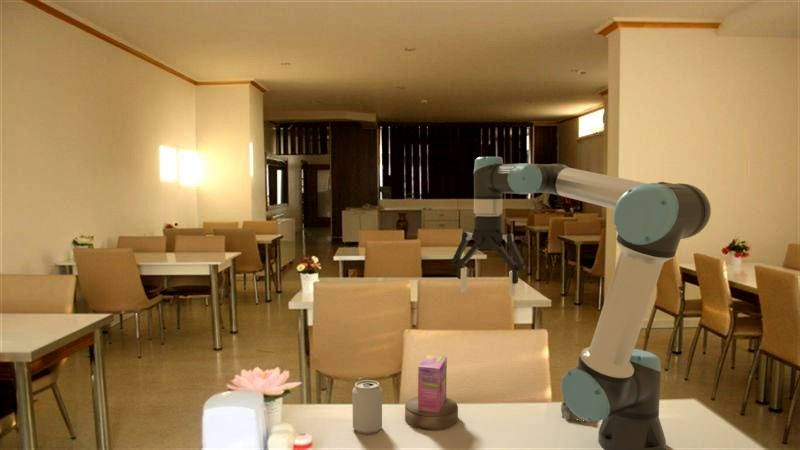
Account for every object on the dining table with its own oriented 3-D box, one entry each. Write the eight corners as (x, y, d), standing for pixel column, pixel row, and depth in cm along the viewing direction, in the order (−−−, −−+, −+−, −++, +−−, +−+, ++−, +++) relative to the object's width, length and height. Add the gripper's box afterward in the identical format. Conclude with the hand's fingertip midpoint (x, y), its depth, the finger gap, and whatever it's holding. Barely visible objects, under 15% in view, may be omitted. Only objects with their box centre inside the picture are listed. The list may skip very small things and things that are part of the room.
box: (439, 413, 154) (439, 368, 153) (417, 411, 156) (417, 366, 155) (447, 398, 164) (447, 356, 163) (426, 396, 166) (426, 354, 165)
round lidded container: (465, 414, 163) (465, 400, 163) (445, 434, 151) (445, 419, 151) (419, 405, 170) (419, 392, 170) (395, 424, 158) (395, 409, 157)
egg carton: (564, 406, 170) (565, 391, 170) (592, 410, 167) (593, 395, 167) (558, 419, 161) (558, 404, 160) (587, 424, 158) (588, 409, 157)
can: (385, 424, 157) (385, 379, 156) (376, 436, 150) (376, 389, 149) (358, 421, 159) (358, 377, 158) (348, 433, 152) (348, 386, 151)
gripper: (537, 215, 159) (536, 295, 161) (450, 212, 171) (449, 287, 172) (530, 217, 152) (528, 300, 154) (439, 214, 164) (439, 291, 166)
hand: (487, 293), depth 163 cm, fingers open, 13 cm apart
